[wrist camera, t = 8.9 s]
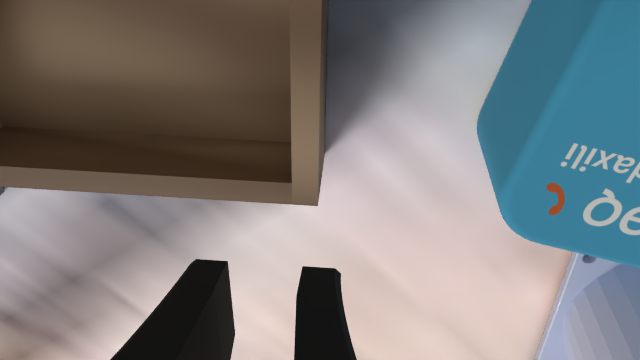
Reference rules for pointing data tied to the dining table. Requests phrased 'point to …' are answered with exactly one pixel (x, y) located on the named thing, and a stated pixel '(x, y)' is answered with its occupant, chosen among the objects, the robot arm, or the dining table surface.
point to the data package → (569, 128)
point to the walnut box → (165, 97)
